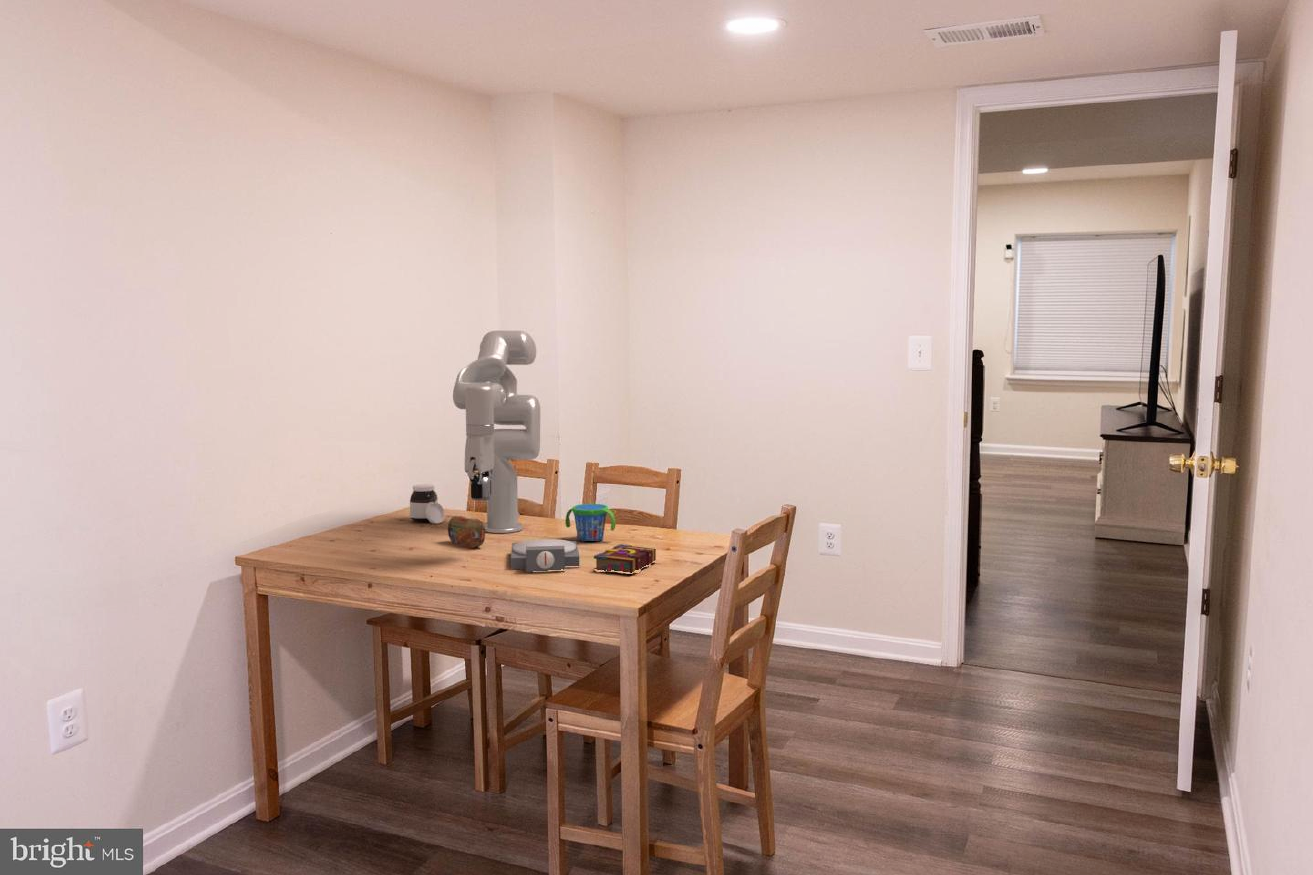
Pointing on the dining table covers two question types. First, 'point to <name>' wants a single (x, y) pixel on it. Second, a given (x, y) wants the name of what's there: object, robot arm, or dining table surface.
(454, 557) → the dining table surface
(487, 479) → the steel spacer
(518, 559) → the scale
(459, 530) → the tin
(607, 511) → the snack cup
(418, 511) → the spread jar
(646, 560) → the decorative book
